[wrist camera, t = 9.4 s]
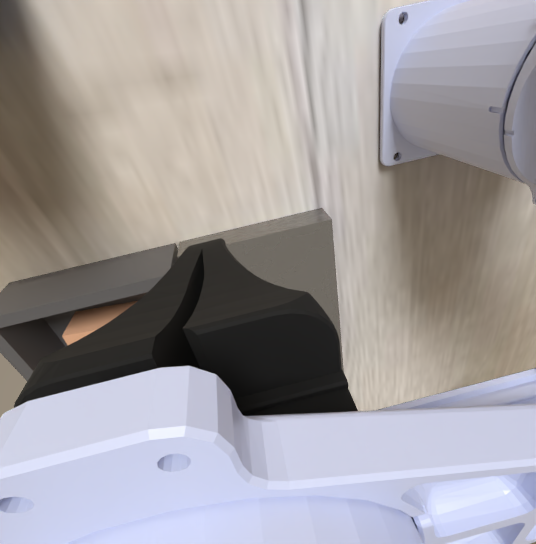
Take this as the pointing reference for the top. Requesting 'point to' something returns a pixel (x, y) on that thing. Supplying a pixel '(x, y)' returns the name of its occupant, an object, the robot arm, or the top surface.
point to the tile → (92, 320)
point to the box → (71, 301)
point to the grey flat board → (288, 255)
